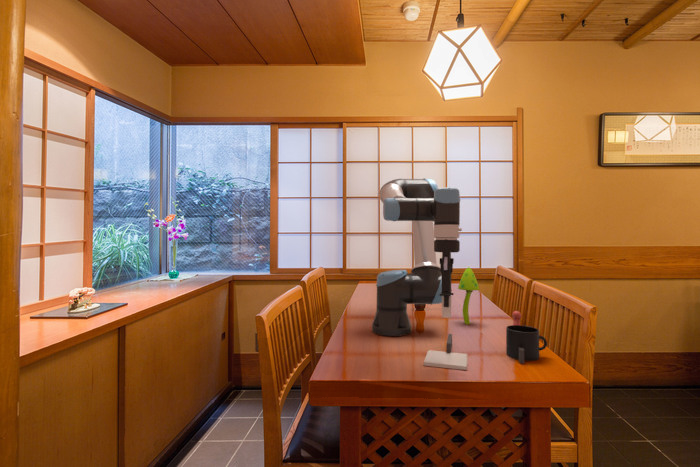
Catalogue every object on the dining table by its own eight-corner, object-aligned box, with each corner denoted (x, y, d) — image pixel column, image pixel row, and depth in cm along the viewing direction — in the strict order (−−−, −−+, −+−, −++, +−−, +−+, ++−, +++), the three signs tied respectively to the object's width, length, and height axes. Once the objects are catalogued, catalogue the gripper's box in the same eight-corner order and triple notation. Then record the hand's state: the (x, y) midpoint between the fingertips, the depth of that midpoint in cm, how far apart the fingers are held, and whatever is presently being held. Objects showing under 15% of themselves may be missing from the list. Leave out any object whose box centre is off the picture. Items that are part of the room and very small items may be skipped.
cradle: (446, 356, 118) (446, 314, 118) (448, 343, 132) (449, 306, 132) (527, 364, 111) (527, 320, 111) (520, 349, 125) (520, 310, 125)
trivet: (423, 365, 109) (423, 362, 109) (428, 353, 120) (428, 350, 120) (466, 370, 105) (466, 366, 105) (467, 357, 117) (467, 353, 117)
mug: (552, 363, 112) (552, 333, 113) (511, 361, 114) (511, 331, 114) (541, 353, 122) (541, 325, 122) (502, 351, 124) (502, 324, 124)
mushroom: (472, 331, 149) (472, 268, 149) (453, 327, 155) (454, 266, 155) (483, 327, 154) (483, 267, 154) (465, 323, 161) (465, 265, 161)
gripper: (459, 239, 106) (458, 322, 105) (460, 239, 118) (460, 314, 118) (432, 239, 108) (431, 320, 108) (435, 239, 120) (435, 312, 120)
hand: (446, 317), depth 113 cm, fingers closed
